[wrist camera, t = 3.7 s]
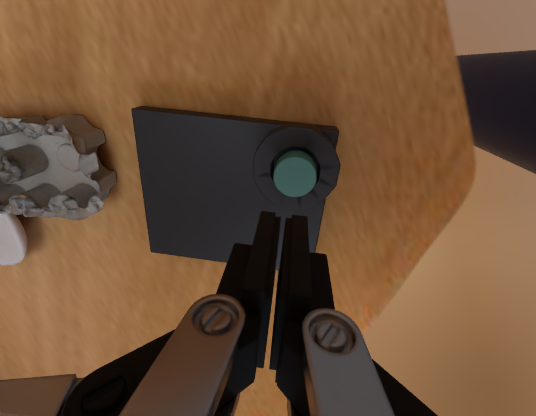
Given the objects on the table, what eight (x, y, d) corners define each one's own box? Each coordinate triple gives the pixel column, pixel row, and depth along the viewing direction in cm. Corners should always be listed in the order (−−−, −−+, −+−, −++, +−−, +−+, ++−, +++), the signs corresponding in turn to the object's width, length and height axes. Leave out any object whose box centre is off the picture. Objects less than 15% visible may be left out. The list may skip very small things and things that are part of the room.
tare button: (318, 152, 17) (320, 159, 16) (312, 189, 19) (312, 199, 17) (277, 147, 18) (275, 154, 16) (273, 185, 19) (271, 194, 17)
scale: (341, 123, 19) (347, 132, 16) (312, 264, 25) (314, 288, 22) (141, 102, 20) (116, 107, 17) (157, 243, 26) (141, 263, 23)
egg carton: (104, 112, 21) (62, 122, 17) (126, 203, 24) (95, 228, 20) (-26, 108, 22) (-93, 116, 18) (13, 196, 25) (-37, 218, 21)
